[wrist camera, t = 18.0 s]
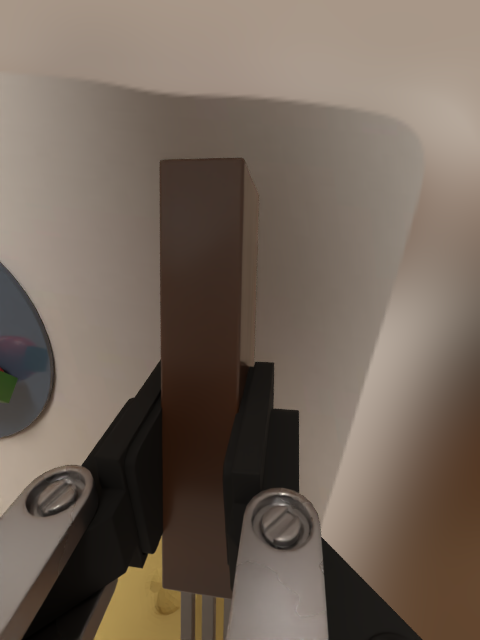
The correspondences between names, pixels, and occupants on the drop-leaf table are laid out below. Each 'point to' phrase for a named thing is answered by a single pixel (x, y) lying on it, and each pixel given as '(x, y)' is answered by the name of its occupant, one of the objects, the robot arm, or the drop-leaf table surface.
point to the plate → (22, 356)
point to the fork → (203, 366)
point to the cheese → (150, 607)
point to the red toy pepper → (6, 386)
